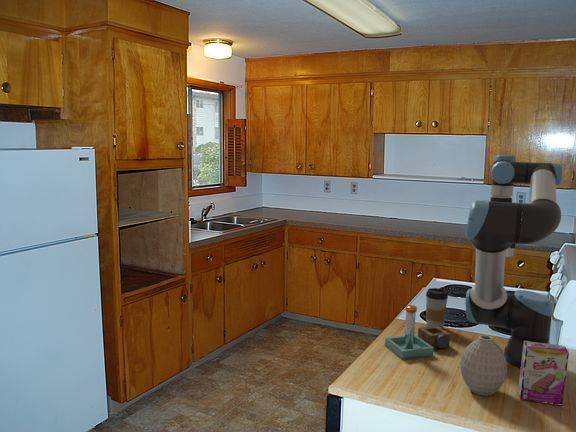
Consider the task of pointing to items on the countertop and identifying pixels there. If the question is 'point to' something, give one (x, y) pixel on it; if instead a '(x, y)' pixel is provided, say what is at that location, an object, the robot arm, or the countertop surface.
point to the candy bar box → (543, 372)
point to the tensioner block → (434, 336)
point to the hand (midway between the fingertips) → (496, 252)
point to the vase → (484, 366)
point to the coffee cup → (436, 307)
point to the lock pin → (409, 326)
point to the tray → (418, 349)
